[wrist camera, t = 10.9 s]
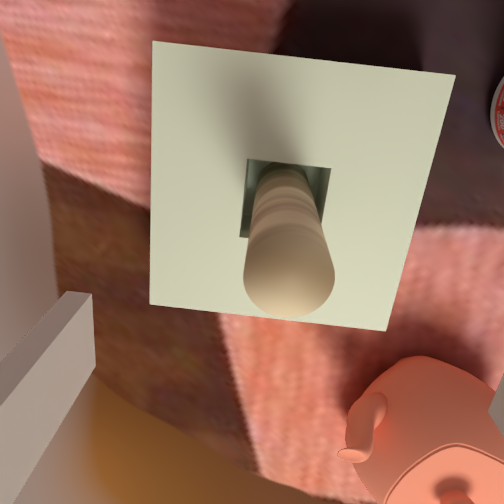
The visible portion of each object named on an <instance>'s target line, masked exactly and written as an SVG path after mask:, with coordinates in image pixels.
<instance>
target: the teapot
mask: <svg viewBox="0 0 504 504" xmlns="http://www.w3.org/2000/svg"><path fill="white" fill-rule="evenodd" d="M495 393H496V392H495V391H494V390H493V389H492V388H490V387H489V386H488V385H487V384H485V383H484V382H482V381H481V380H479V379H478V378H476V377H475V376H473V375H471V374H470V373H468V372H466V371H464V370H461V369H459V368H457V367H455V366H453V365H450V364H448V363H445V362H443V361H440V360H437V359H434V358H431V357H427V356H412V357H404V358H401V359H399V360H398V361H397V362H396V363H395V364H394V365H393V366H392V367H390V368H389V369H387V370H386V371H385V372H384V373H382V374H381V375H380V376H379V377H378V378H376V379H375V380H374V381H373V382H372V383H371V384H370V385H369V387H368V388H367V389H366V390H365V392H364V393H363V394H362V396H361V397H360V398H359V399H358V400H357V401H355V402H354V404H353V405H352V406H351V408H350V410H349V413H348V415H347V427H346V434H345V441H346V445H347V448H344V449H341V450H340V451H338V453H337V456H338V457H339V458H340V459H342V460H344V461H347V462H352V463H353V466H354V468H355V470H356V472H357V474H358V475H359V477H360V479H361V481H362V482H363V484H364V485H365V487H366V488H367V490H368V491H369V492H370V494H371V495H372V496H373V498H374V499H375V500H376V502H377V503H378V504H504V437H503V435H502V434H501V432H500V431H499V429H498V427H497V426H496V424H495V423H494V421H493V419H492V418H491V416H490V414H489V413H488V409H489V407H490V405H491V402H492V400H493V398H494V395H495Z"/></svg>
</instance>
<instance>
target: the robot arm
mask: <svg viewBox="0 0 504 504" xmlns="http://www.w3.org/2000/svg"><path fill="white" fill-rule="evenodd" d="M95 366H96V365H95V346H94V328H93V309H92V294H89V293H81V292H72V291H66V292H65V294H64V295H63V296H62V297H61V298H60V299H59V300H58V301H57V302H56V303H55V304H54V305H53V307H52V308H51V309H50V310H49V311H48V312H47V313H46V314H45V315H44V316H43V318H41V319H40V320H39V322H38V323H37V324H36V325H35V326H34V327H33V328H32V329H31V330H30V331H29V332H28V333H27V334H26V335H25V337H24V338H23V339H22V340H21V341H20V342H19V343H18V344H17V345H16V346H15V347H14V348H13V349H12V350H11V352H10V353H9V354H8V355H7V356H6V357H5V358H4V359H3V360H2V361H1V362H0V504H13V503H14V501H15V499H16V498H17V496H18V494H19V492H20V491H21V489H22V487H23V486H24V484H25V483H26V481H27V479H28V478H29V476H30V474H31V473H32V471H33V469H34V468H35V466H36V464H37V463H38V461H39V459H40V457H41V456H42V454H43V453H44V451H45V449H46V447H47V446H48V444H49V443H50V441H51V439H52V438H53V436H54V434H55V433H56V431H57V429H58V428H59V426H60V424H61V422H62V421H63V419H64V417H65V416H66V414H67V412H68V411H69V409H70V408H71V406H72V404H73V403H74V401H75V399H76V398H77V396H78V394H79V393H80V391H81V389H82V388H83V386H84V384H85V383H86V381H87V379H88V378H89V376H90V374H91V373H92V371H93V369H94V368H95ZM488 413H489V414H490V416H491V418H492V419H493V421H494V423H495V424H496V426H497V427H498V429H499V431H500V432H501V434H502V435H503V437H504V374H503V377H502V379H501V381H500V384H499V386H498V388H497V391H496V393H495V395H494V398H493V400H492V402H491V405H490V407H489V409H488Z"/></svg>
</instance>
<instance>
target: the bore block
mask: <svg viewBox="0 0 504 504" xmlns="http://www.w3.org/2000/svg"><path fill="white" fill-rule="evenodd" d="M455 77H456V75H449V74H440V73H431V72H422V71H413V70H405V69H396V68H387V67H378V66H370V65H361V64H352V63H343V62H335V61H326V60H317V59H308V58H300V57H291V56H282V55H273V54H265V53H256V52H247V51H238V50H230V49H221V48H212V47H203V46H194V45H186V44H177V43H168V42H159V41H152V130H151V228H150V304H152V305H161V306H170V307H178V308H187V309H196V310H204V311H213V312H222V313H230V314H239V315H248V316H256V317H265V318H274V319H283V320H291V321H300V322H309V323H317V324H326V325H335V326H343V327H352V328H361V329H370V330H378V331H386V329H387V325H388V322H389V318H390V314H391V311H392V307H393V303H394V300H395V296H396V292H397V289H398V285H399V281H400V278H401V274H402V270H403V267H404V263H405V260H406V256H407V252H408V249H409V245H410V241H411V238H412V234H413V230H414V227H415V223H416V219H417V216H418V212H419V208H420V205H421V201H422V197H423V194H424V190H425V186H426V183H427V179H428V175H429V172H430V168H431V164H432V161H433V157H434V153H435V150H436V146H437V142H438V139H439V135H440V131H441V128H442V124H443V120H444V117H445V113H446V109H447V106H448V102H449V98H450V95H451V91H452V87H453V84H454V80H455ZM272 162H281V163H290V164H297V165H299V166H300V167H301V168H302V169H303V170H304V172H305V174H306V176H307V179H308V182H309V186H310V189H311V192H312V196H313V199H314V202H315V206H316V209H317V212H318V216H319V219H320V222H321V226H322V229H323V233H324V236H325V239H326V243H327V246H328V249H329V253H330V256H331V259H332V263H333V266H334V271H335V282H334V287H333V290H332V292H331V294H330V296H329V297H328V299H327V300H326V301H325V303H324V304H323V305H322V306H320V307H319V308H318V309H316V310H315V311H313V312H311V313H309V314H307V315H304V316H300V317H295V318H283V317H277V316H273V315H271V314H268V313H266V312H264V311H262V310H261V309H260V308H258V307H257V306H256V305H255V304H254V303H253V302H252V301H251V300H250V298H249V296H248V295H247V293H246V290H245V287H244V283H243V271H244V265H245V258H246V252H247V245H248V239H249V232H250V226H251V219H252V212H253V206H254V199H255V193H256V186H257V180H258V177H259V175H260V173H261V171H262V170H263V169H264V168H265V167H266V166H267V165H268V164H270V163H272Z"/></svg>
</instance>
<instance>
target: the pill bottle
mask: <svg viewBox="0 0 504 504" xmlns="http://www.w3.org/2000/svg"><path fill="white" fill-rule="evenodd" d="M490 119H491V126H492V130H493V133H494V135H495V137H496V139H497V141H498V142H499V143H500V145H501V146H502V147H503V148H504V77H503V78H502V80H501V81H500V83H499V85H498V87H497V89H496V91H495V93H494V96H493V100H492V104H491V111H490Z"/></svg>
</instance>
